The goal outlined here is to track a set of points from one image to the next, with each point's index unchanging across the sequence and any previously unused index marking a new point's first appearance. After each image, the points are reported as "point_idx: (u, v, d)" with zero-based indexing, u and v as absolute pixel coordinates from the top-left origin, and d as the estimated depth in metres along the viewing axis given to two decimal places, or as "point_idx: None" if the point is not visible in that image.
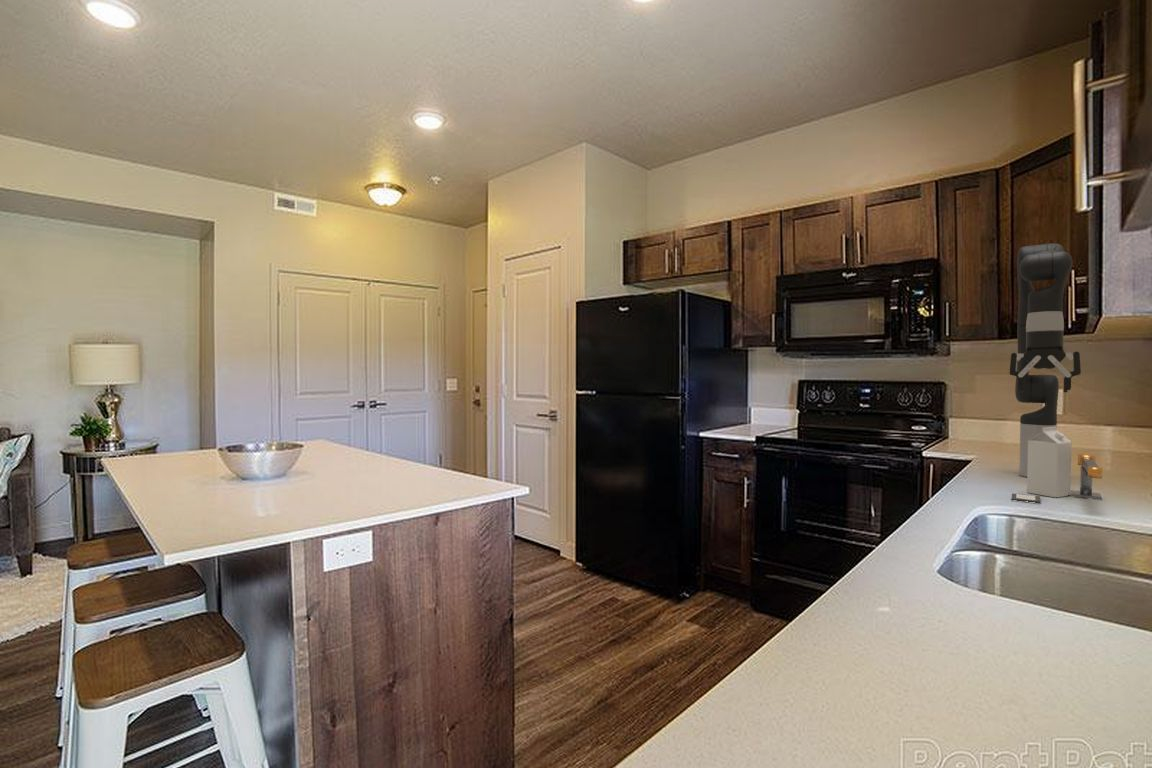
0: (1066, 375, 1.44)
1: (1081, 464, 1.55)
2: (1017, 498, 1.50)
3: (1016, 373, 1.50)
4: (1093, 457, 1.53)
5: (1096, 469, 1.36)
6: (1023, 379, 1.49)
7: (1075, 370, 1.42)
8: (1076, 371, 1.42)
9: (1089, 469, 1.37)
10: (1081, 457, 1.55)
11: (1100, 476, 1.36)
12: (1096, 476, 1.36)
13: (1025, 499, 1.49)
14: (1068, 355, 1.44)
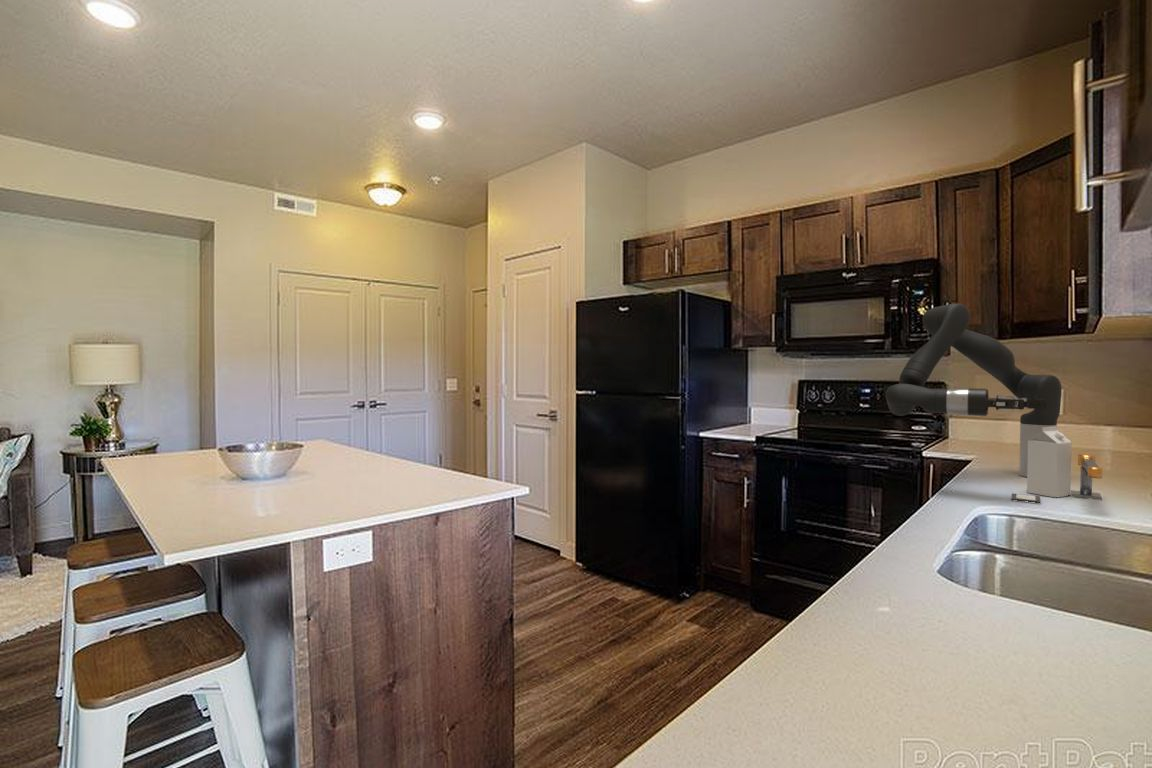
0: None
1: (1081, 464, 1.55)
2: (1017, 498, 1.50)
3: None
4: (1093, 457, 1.53)
5: (1096, 469, 1.36)
6: None
7: (1018, 408, 1.47)
8: None
9: (1089, 469, 1.37)
10: (1081, 457, 1.55)
11: (1100, 476, 1.36)
12: (1096, 476, 1.36)
13: (1025, 499, 1.49)
14: None
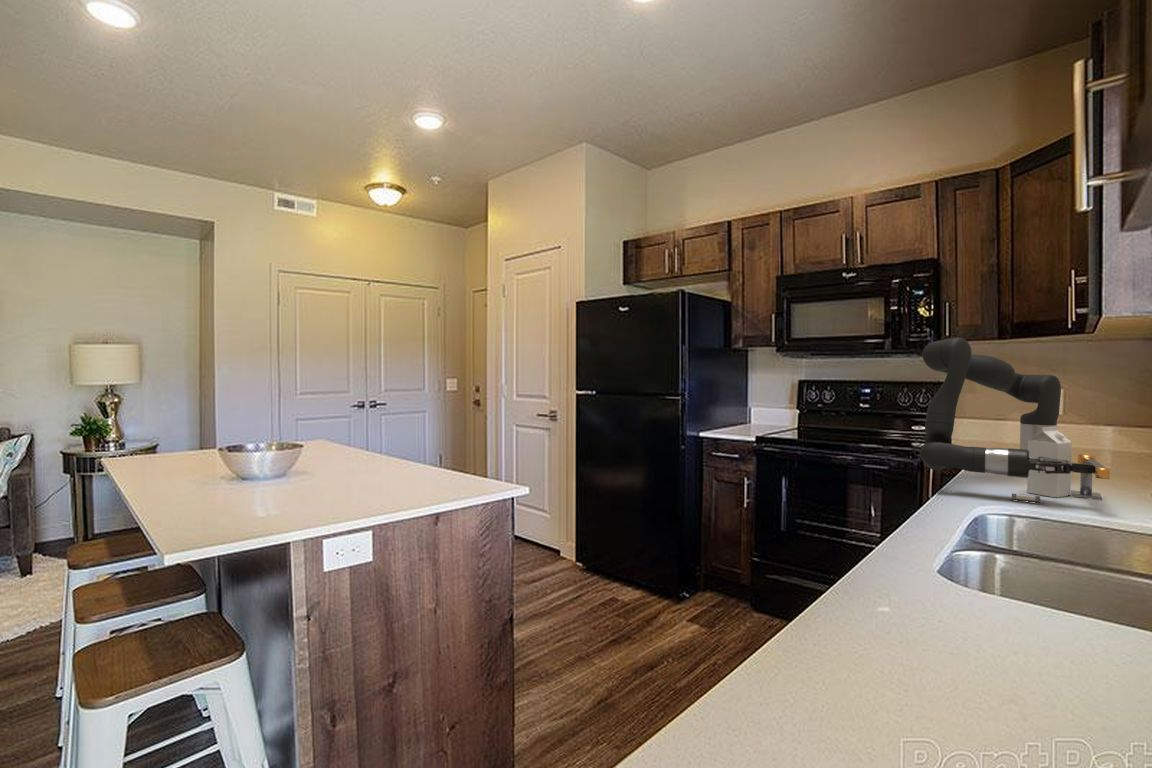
0: None
1: None
2: (1017, 498, 1.50)
3: None
4: (1093, 457, 1.53)
5: (1104, 470, 1.35)
6: None
7: None
8: None
9: (1097, 470, 1.36)
10: (1081, 457, 1.55)
11: (1108, 477, 1.35)
12: (1104, 477, 1.35)
13: (1025, 499, 1.49)
14: None
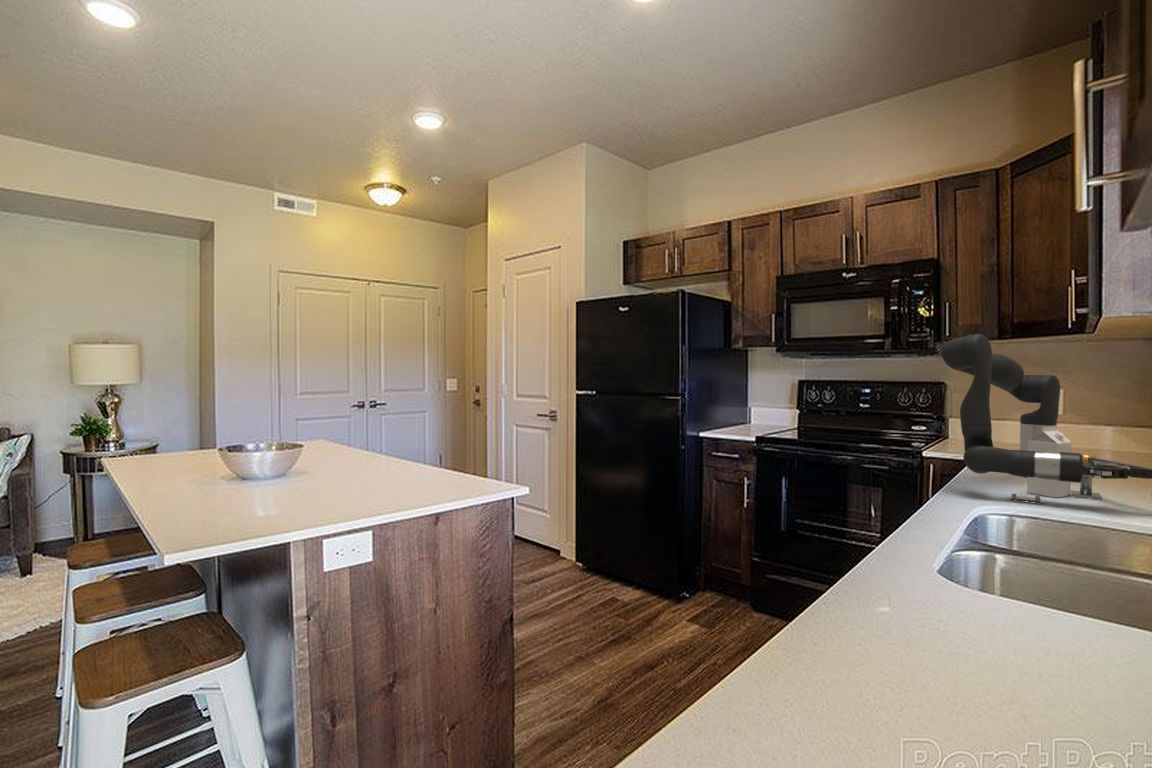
0: None
1: None
2: (1017, 498, 1.50)
3: None
4: (1095, 457, 1.54)
5: None
6: None
7: None
8: None
9: None
10: (1086, 458, 1.54)
11: None
12: None
13: (1025, 499, 1.49)
14: None
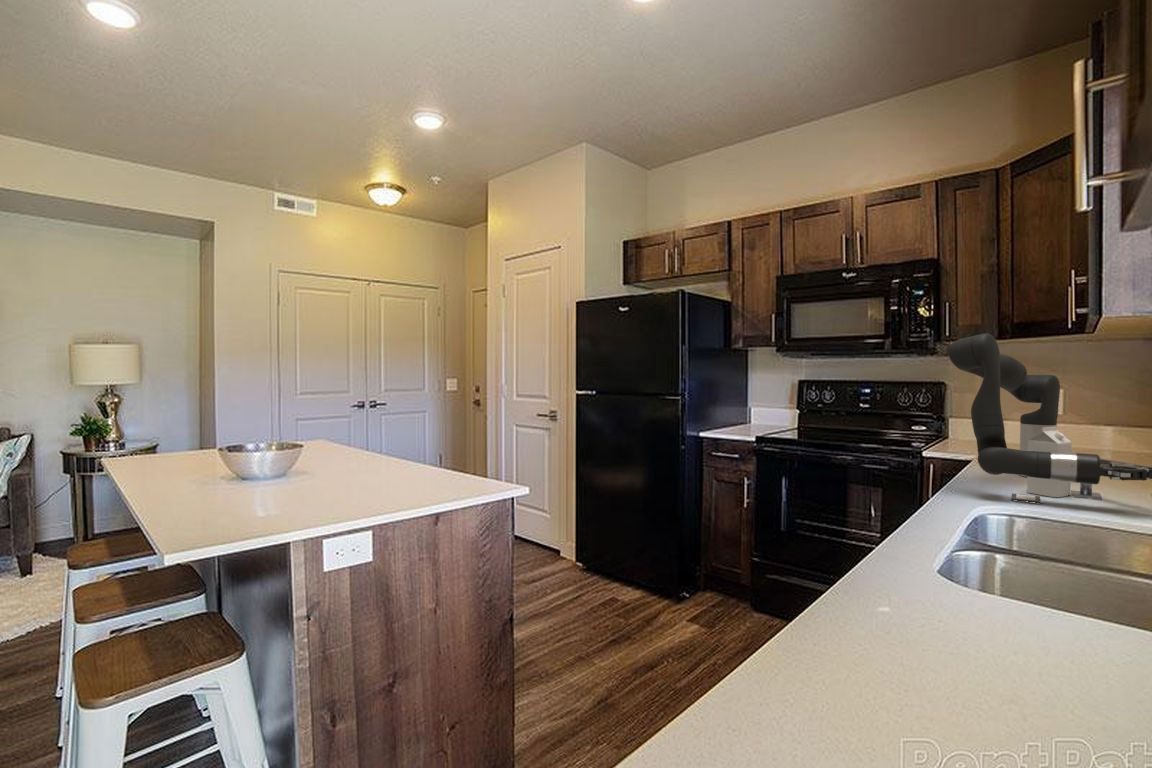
0: None
1: None
2: (1017, 498, 1.50)
3: None
4: None
5: None
6: None
7: None
8: None
9: None
10: None
11: None
12: None
13: (1025, 499, 1.49)
14: None
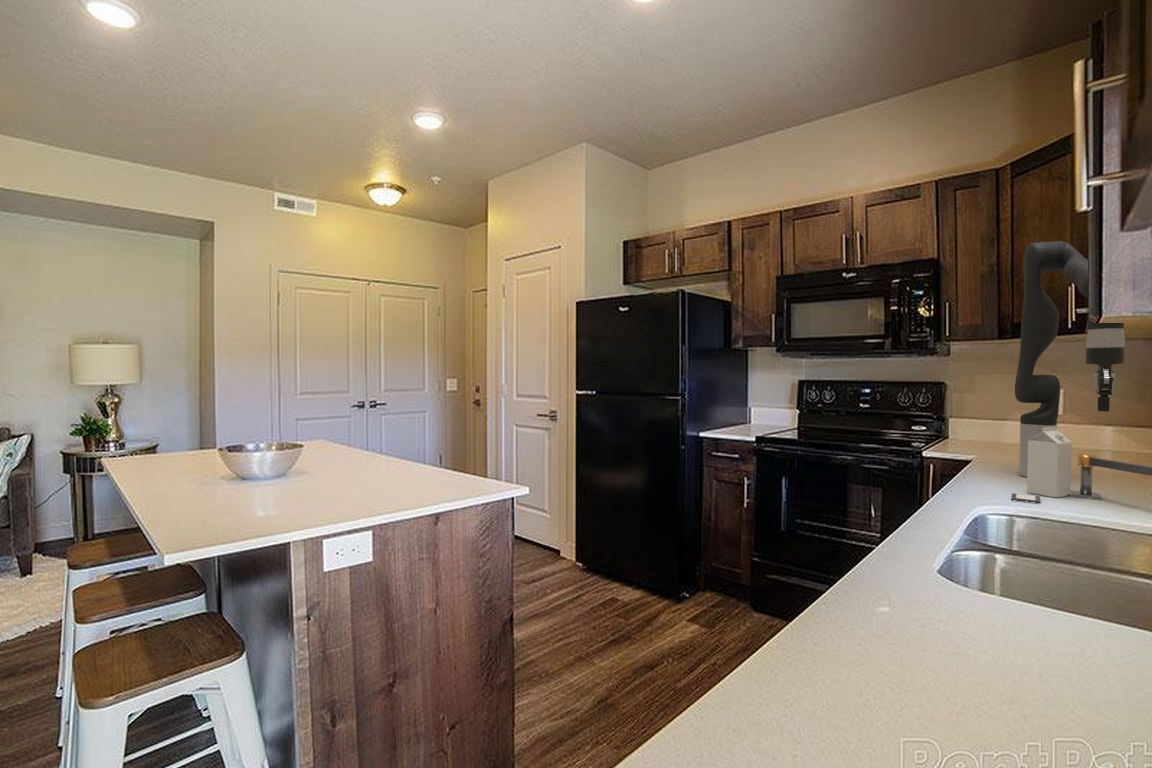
0: None
1: (1087, 465, 1.54)
2: (1017, 498, 1.50)
3: None
4: (1095, 457, 1.54)
5: None
6: None
7: (1098, 390, 1.49)
8: (1098, 391, 1.49)
9: None
10: (1087, 458, 1.54)
11: None
12: None
13: (1025, 499, 1.49)
14: (1103, 376, 1.47)
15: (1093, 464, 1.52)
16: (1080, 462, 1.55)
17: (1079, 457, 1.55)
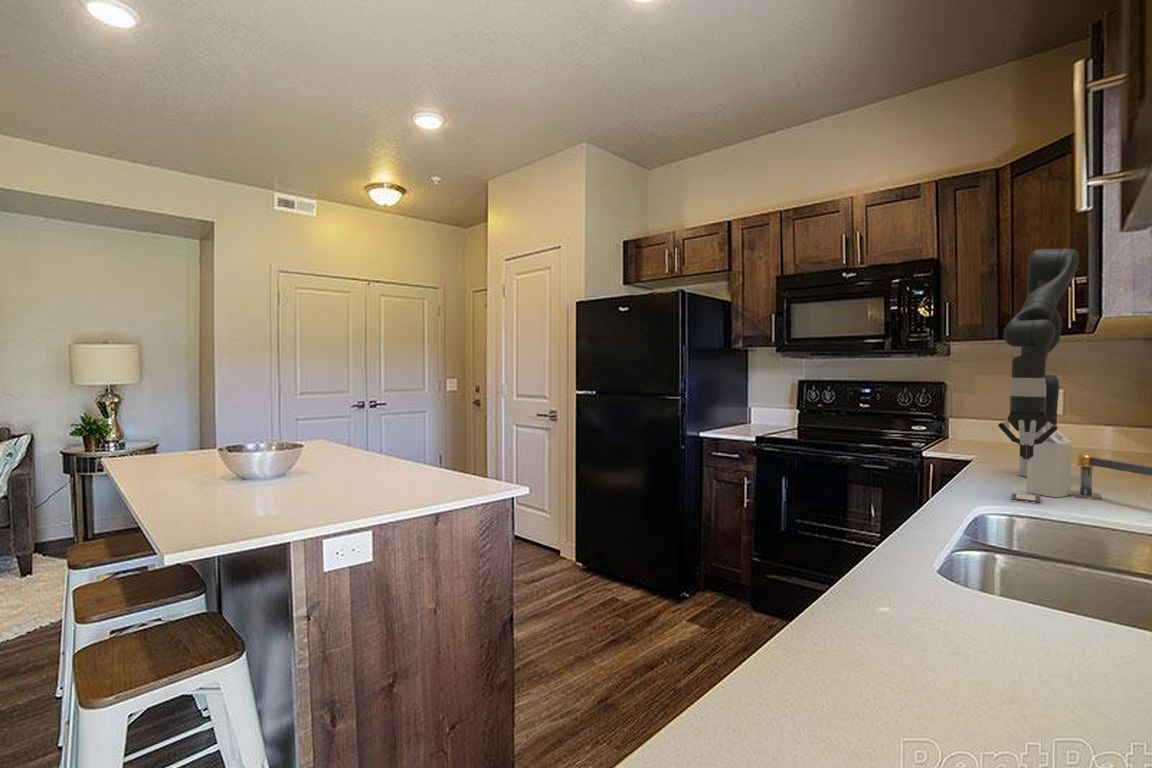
0: None
1: (1087, 465, 1.54)
2: (1017, 498, 1.50)
3: None
4: (1095, 457, 1.54)
5: None
6: None
7: None
8: None
9: None
10: (1087, 458, 1.54)
11: None
12: None
13: (1025, 499, 1.49)
14: None
15: (1093, 464, 1.52)
16: (1080, 462, 1.55)
17: (1079, 457, 1.55)
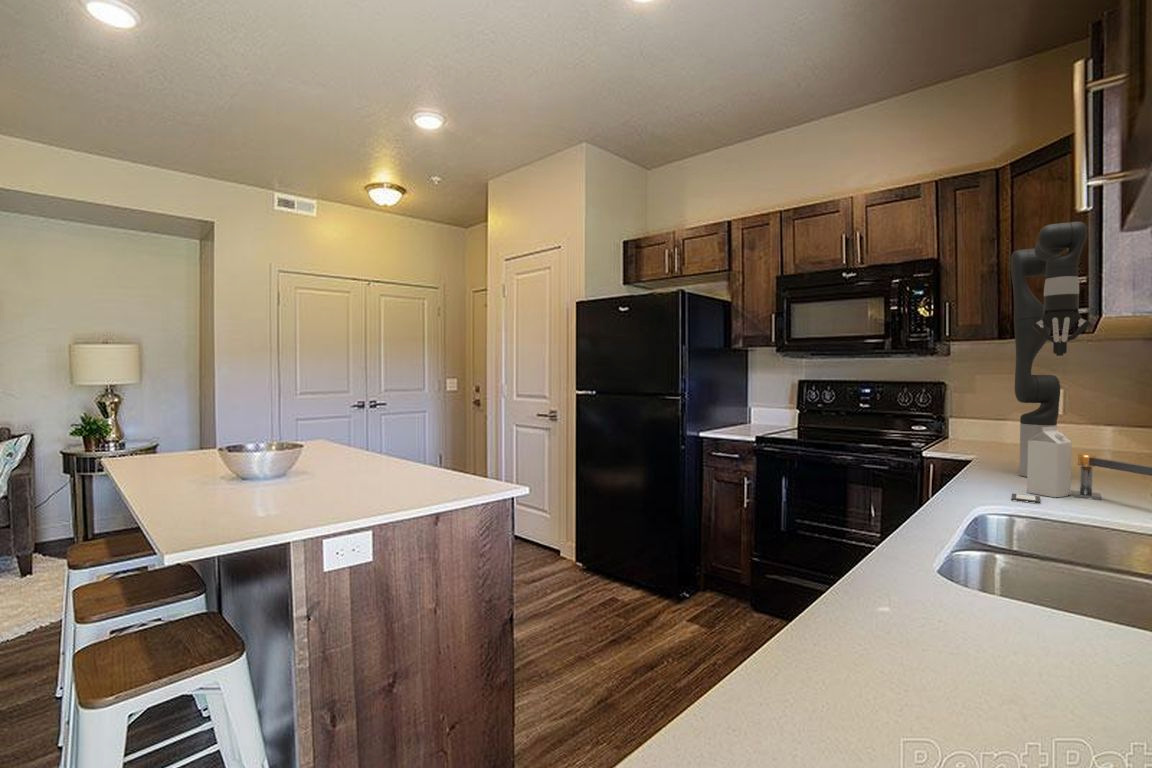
0: None
1: (1087, 465, 1.54)
2: (1017, 498, 1.50)
3: None
4: (1095, 457, 1.54)
5: None
6: None
7: None
8: None
9: None
10: (1087, 458, 1.54)
11: None
12: None
13: (1025, 499, 1.49)
14: None
15: (1093, 464, 1.52)
16: (1080, 462, 1.55)
17: (1079, 457, 1.55)
